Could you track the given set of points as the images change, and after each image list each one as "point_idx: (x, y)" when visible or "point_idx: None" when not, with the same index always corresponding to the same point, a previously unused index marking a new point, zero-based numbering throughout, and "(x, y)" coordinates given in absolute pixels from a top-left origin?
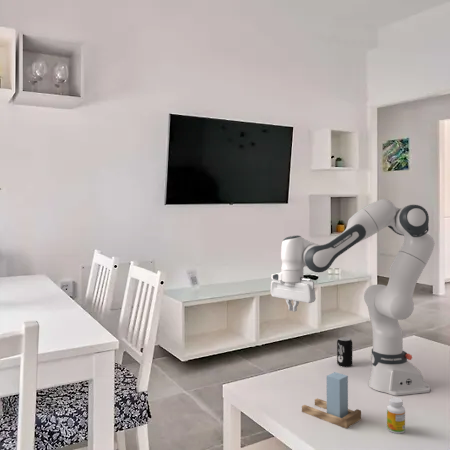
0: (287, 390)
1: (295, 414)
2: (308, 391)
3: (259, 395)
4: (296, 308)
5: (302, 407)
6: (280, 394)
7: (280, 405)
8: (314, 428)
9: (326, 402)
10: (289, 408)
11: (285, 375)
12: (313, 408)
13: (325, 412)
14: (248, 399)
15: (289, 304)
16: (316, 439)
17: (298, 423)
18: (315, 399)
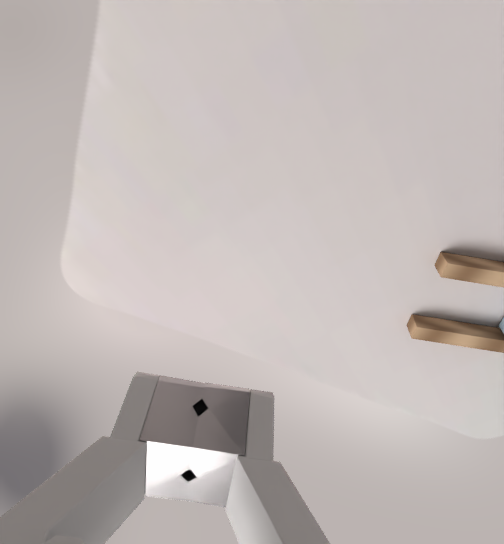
0: (282, 203)
1: (393, 346)
2: (369, 163)
3: (217, 294)
4: (272, 434)
5: (412, 335)
6: (277, 250)
7: (322, 320)
8: (472, 384)
9: (492, 277)
10: (359, 324)
11: (170, 30)
12: (455, 336)
13: (502, 341)
14: (207, 333)
15: (114, 517)
16: (489, 420)
17: (420, 382)
18: (444, 275)
